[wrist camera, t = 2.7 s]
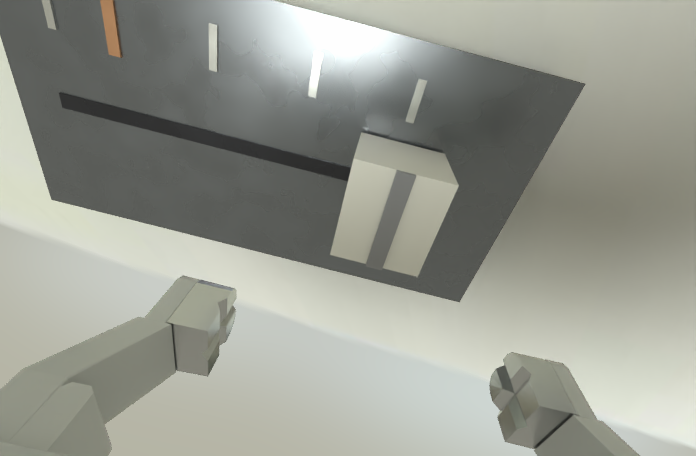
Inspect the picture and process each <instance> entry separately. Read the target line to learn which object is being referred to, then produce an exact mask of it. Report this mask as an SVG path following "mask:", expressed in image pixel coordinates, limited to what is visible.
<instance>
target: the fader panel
mask: <svg viewBox="0 0 696 456" xmlns="http://www.w3.org/2000/svg"><path fill="white" fill-rule="evenodd" d="M0 36H1V39H2V42H3V45H4V49H5V52H6V55H7V58H8V62H9V65H10V68H11V71H12V74H13V78H14V81H15V84H16V87H17V90H18V94H19V97H20V100H21V103H22V106H23V110H24V113H25V116H26V119H27V122H28V126H29V129H30V132H31V135H32V138H33V142H34V145H35V148H36V151H37V154H38V158H39V161H40V164H41V167H42V170H43V174H44V177H45V180H46V183H47V187H48V190H49V193H50V196H51V199H52V200H55V201H59V202H63V203H67V204H71V205H75V206H79V207H83V208H87V209H91V210H95V211H99V212H103V213H107V214H111V215H115V216H119V217H123V218H127V219H131V220H135V221H139V222H143V223H147V224H151V225H155V226H159V227H163V228H167V229H171V230H174V231H178V232H182V233H186V234H190V235H194V236H198V237H202V238H206V239H210V240H214V241H218V242H222V243H226V244H230V245H234V246H238V247H242V248H246V249H250V250H254V251H258V252H262V253H266V254H270V255H274V256H278V257H282V258H286V259H290V260H294V261H298V262H302V263H306V264H310V265H314V266H318V267H322V268H326V269H330V270H334V271H338V272H341V273H345V274H349V275H353V276H357V277H361V278H365V279H369V280H373V281H377V282H381V283H385V284H389V285H393V286H397V287H401V288H405V289H409V290H413V291H417V292H421V293H425V294H429V295H433V296H437V297H441V298H445V299H449V300H453V301H457V302H460V300H461V298H462V297H463V295H464V293H465V291H466V290H467V288H468V286H469V284H470V283H471V281H472V279H473V278H474V276H475V274H476V272H477V271H478V269H479V267H480V265H481V264H482V262H483V260H484V258H485V257H486V255H487V253H488V252H489V250H490V248H491V246H492V245H493V243H494V241H495V239H496V238H497V236H498V234H499V233H500V231H501V229H502V227H503V226H504V224H505V222H506V220H507V219H508V217H509V215H510V214H511V212H512V210H513V208H514V207H515V205H516V203H517V201H518V200H519V198H520V196H521V195H522V193H523V191H524V189H525V188H526V186H527V184H528V182H529V181H530V179H531V177H532V176H533V174H534V172H535V170H536V169H537V167H538V165H539V163H540V162H541V160H542V158H543V157H544V155H545V153H546V151H547V150H548V148H549V146H550V144H551V143H552V141H553V139H554V138H555V136H556V134H557V132H558V131H559V129H560V127H561V125H562V124H563V122H564V120H565V119H566V117H567V115H568V113H569V112H570V110H571V108H572V106H573V105H574V103H575V101H576V99H577V98H578V96H579V94H580V93H581V91H582V89H583V87H584V86H585V84H584V83H580V82H576V81H573V80H569V79H565V78H562V77H558V76H554V75H550V74H547V73H543V72H539V71H535V70H532V69H528V68H524V67H521V66H517V65H513V64H509V63H506V62H502V61H498V60H494V59H491V58H487V57H483V56H479V55H476V54H472V53H468V52H465V51H461V50H457V49H453V48H450V47H446V46H442V45H438V44H435V43H431V42H427V41H423V40H420V39H416V38H412V37H409V36H405V35H401V34H397V33H394V32H390V31H386V30H382V29H379V28H375V27H371V26H367V25H364V24H360V23H356V22H353V21H349V20H345V19H341V18H338V17H334V16H330V15H326V14H323V13H319V12H315V11H311V10H308V9H304V8H300V7H296V6H293V5H289V4H285V3H282V2H278V1H274V0H0ZM361 132H363V133H367V134H370V135H374V136H378V137H382V138H386V139H390V140H394V141H397V142H401V143H405V144H409V145H413V146H417V147H420V148H424V149H428V150H432V151H436V152H440V153H443V154H445V155H446V158H447V160H448V162H449V164H450V167H451V169H452V171H453V174H454V176H455V178H456V180H457V183H458V185H459V187H458V189H457V191H456V193H455V195H454V198H453V200H452V202H451V204H450V206H449V209H448V211H447V213H446V215H445V217H444V220H443V222H442V224H441V226H440V228H439V231H438V233H437V235H436V237H435V240H434V242H433V244H432V246H431V248H430V251H429V253H428V255H427V257H426V259H425V262H424V264H423V266H422V268H421V270H420V273H419V275H418V277H416V276H412V275H408V274H404V273H400V272H396V271H392V270H388V269H384V268H382V270H378V269H374V268H370V267H366V264H364V263H360V262H356V261H352V260H348V259H344V258H341V257H337V256H333V255H330V253H331V249H332V245H333V240H334V236H335V232H336V228H337V224H338V220H339V216H340V212H341V208H342V204H343V200H344V196H345V191H346V187H347V183H348V179H349V175H350V171H351V167H352V163H353V159H354V155H355V152H356V149H357V145H358V142H359V139H360V135H361Z"/></svg>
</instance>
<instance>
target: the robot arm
mask: <svg viewBox="0 0 696 456" xmlns="http://www.w3.org/2000/svg"><path fill="white" fill-rule="evenodd" d="M235 300H236V289H235V288H231V287H227V286H223V285H219V284H215V283H212V282H208V281H204V280H199V279H195V278H191V277H187V276H182V277H180V278H178V279H177V280H176V281H175V282H174V284H173V285H172V286H171V287H170V288H169V290H168V291H167V292H166V293H165V294H164V295H163V297H162V298H161V299H160V300H159V301H158V302H157V304H156V305H155V306H154V307H153V308H152V310H151V311H150V312H149V313H148V314H147V315H146V316H145V318H142V317H137V318H135V319H133V320H130V321H128V322H126V323H124V324H122V325H119V326H117V327H115V328H113V329H111V330H108V331H106V332H104V333H101V334H99V335H97V336H95V337H93V338H90V339H88V340H86V341H84V342H82V343H79V344H77V345H75V346H73V347H70V348H68V349H66V350H64V351H62V352H59V353H57V354H55V355H53V356H50V357H48V358H46V359H44V360H42V361H39V362H37V363H35V364H33V365H31V366H28V367H26V368H24V369H22V370H21V371H20V372H19V373H18V374H17V375H16V376H14V377H13V378H12V379H11V380H10V381H9V382H8V383H7V384H6V385H5V386H4V387H2V388H1V389H0V456H108V455H109V453H110V452H111V450H112V447H111V442H110V439H109V436H108V433H107V430H106V427H105V424H106V423H107V422H108V421H110V420H111V419H113V418H114V417H115V416H117V415H118V414H119V413H121V412H122V411H124V410H125V409H126V408H127V407H129V406H130V405H131V404H133V403H135V402H136V401H137V400H139V399H140V398H141V397H143V396H144V395H145V394H147V393H148V392H150V391H151V390H152V389H153V388H155V387H156V386H158V385H159V384H161V383H162V382H163V381H165V380H166V379H167V378H169V377H170V376H171V375H173V374H174V373H175V372H176V370H177V371H182V372H187V373H193V374H198V375H203V376H208V375H209V373H210V371H211V370H212V368H213V366H214V364H215V362H216V360H217V358H218V356H219V346H220V345H221V344H223V343H225V342H226V340H227V338H228V336H229V334H230V332H231V329H232V326H233V324H234V319H235V312H236V311H235V310H236V309H235V308H234V306H233V303H234V302H235ZM503 361H504V366H502V367H499V368H497V369H496V370H495V371H494V373H493V374H492V376H491V380H490V394H491V397H492V401H493V402H494V404H495V405H496V406H497V407H498V408H499V410H500V412H499V415H498V421H499V424H500V427H501V430H502V434H503V437H504V440H505V442H508V443H512V444H516V445H520V446H524V447H528V448H532V449H535V450H534V451H535V453H536V454H537V456H640V455H639V454H637V453H636V452H635V451H634V450H633V449H632V448H631V447H630V446H629V445H627V443H626V442H625V441H623V440H622V439H621V438H620V437H619V436H618V435H617V434H616V433H615V432H614V431H613V430H612V429H611V428H609V427H608V426H607V425H606V424H605V423H604V422H603V421H599V420H597V418H596V416H595V415H594V413H593V411H592V409H591V408H590V406H589V404H588V402H587V401H586V399H585V397H584V395H583V394H582V392H581V390H580V388H579V387H578V385H577V383H576V381H575V380H574V378H573V376H572V374H571V372H570V371H569V369H568V368H567V367H566V366H565V365H564V364H563V363H559V362H554V361H550V360H544V359H541V358H536V357H532V356H527V355H523V354H518V353H513V352H511V353H509V354H507V355H506V357H505V358H504V359H503Z"/></svg>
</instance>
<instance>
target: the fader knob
mask: <svg viewBox="0 0 696 456" xmlns="http://www.w3.org/2000/svg"><path fill="white" fill-rule="evenodd" d="M458 187H459V185H458V183H457V180H456V178H455V176H454V174H453V171H452V169H451V167H450V164H449V162H448V160H447V158H446V155H445V154H443V153H440V152H436V151H432V150H428V149H424V148H420V147H417V146H413V145H409V144H405V143H401V142H397V141H394V140H390V139H386V138H382V137H378V136H374V135H370V134H367V133H363V132H361V135H360V139H359V142H358V145H357V149H356V152H355V155H354V159H353V163H352V167H351V171H350V175H349V179H348V183H347V187H346V191H345V196H344V200H343V204H342V208H341V212H340V216H339V220H338V224H337V228H336V232H335V236H334V240H333V245H332V249H331V253H330V255H333V256H337V257H341V258H344V259H348V260H352V261H356V262H360V263H364V264H366V267H370V268H374V269H378V270H382V268H384V269H388V270H392V271H396V272H400V273H404V274H408V275H412V276H416V277H418V275H419V273H420V270H421V268H422V266H423V264H424V262H425V259H426V257H427V255H428V253H429V251H430V248H431V246H432V244H433V242H434V240H435V237H436V235H437V233H438V231H439V228H440V226H441V224H442V222H443V220H444V217H445V215H446V213H447V211H448V209H449V206H450V204H451V202H452V200H453V198H454V195H455V193H456V191H457V189H458Z"/></svg>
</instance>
